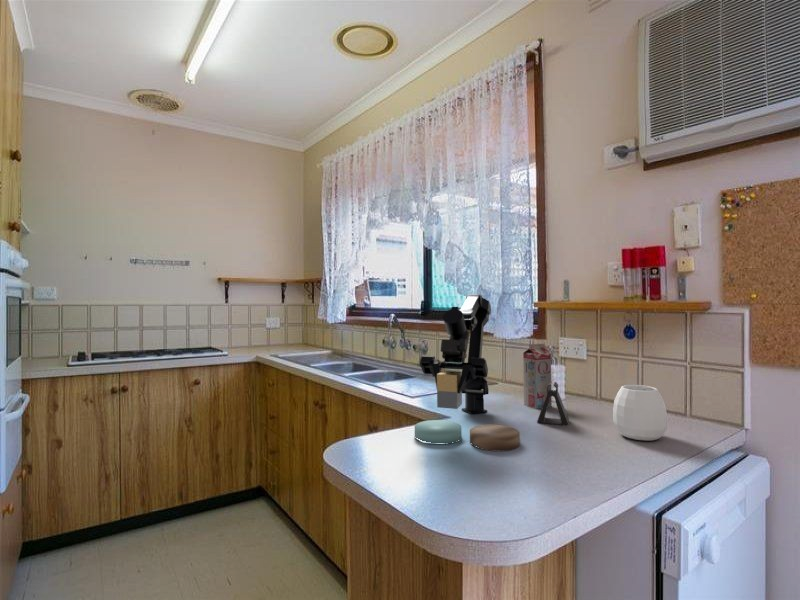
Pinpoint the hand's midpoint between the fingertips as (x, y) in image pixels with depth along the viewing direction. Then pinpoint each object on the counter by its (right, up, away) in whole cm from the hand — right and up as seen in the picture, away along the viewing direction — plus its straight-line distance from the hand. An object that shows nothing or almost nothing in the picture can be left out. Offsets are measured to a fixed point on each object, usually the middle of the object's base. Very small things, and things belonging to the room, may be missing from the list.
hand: (448, 391), depth 122 cm
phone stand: (+34, -13, +17) cm, 40 cm away
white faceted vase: (+52, -13, +1) cm, 54 cm away
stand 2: (+12, -13, -2) cm, 18 cm away
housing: (+1, -4, +1) cm, 4 cm away
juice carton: (+36, -13, +37) cm, 53 cm away
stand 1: (-3, -13, +3) cm, 14 cm away
